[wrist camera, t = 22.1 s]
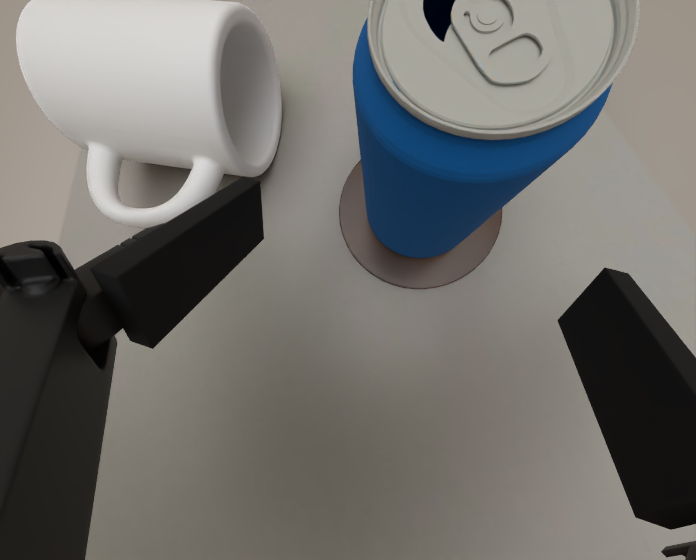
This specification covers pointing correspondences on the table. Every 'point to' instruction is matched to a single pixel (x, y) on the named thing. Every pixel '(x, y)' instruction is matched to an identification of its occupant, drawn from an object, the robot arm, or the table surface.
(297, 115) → the table surface
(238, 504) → the table surface
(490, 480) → the table surface
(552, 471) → the table surface
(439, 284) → the coaster
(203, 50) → the mug
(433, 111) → the beverage can
